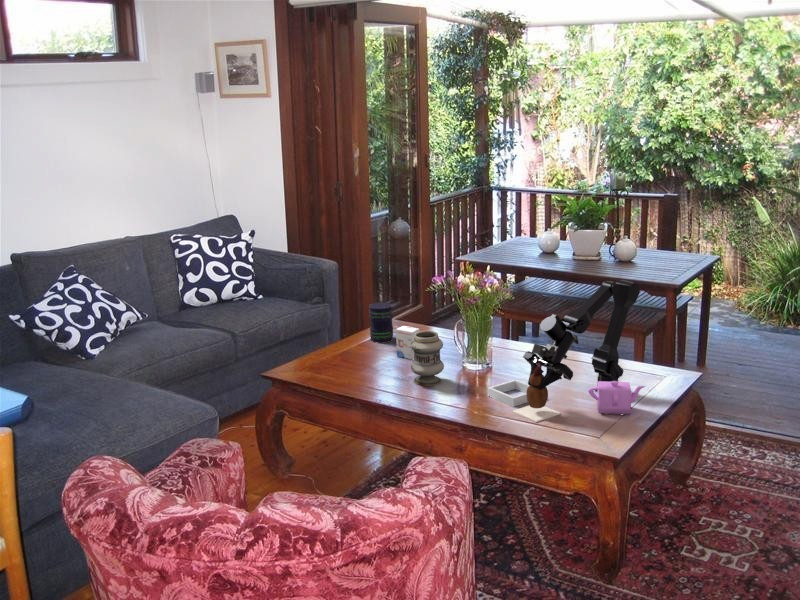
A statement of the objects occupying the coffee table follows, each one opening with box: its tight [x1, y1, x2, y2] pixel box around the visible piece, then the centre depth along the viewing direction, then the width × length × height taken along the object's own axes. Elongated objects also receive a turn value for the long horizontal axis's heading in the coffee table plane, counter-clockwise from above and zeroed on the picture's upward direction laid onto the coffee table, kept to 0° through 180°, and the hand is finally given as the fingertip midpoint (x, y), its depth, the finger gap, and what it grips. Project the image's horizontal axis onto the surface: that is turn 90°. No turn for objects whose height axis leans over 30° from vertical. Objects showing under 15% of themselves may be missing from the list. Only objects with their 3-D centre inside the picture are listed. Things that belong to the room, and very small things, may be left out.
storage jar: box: [368, 301, 394, 344], centre depth 362 cm, size 10×10×15 cm
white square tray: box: [487, 379, 530, 408], centre depth 295 cm, size 13×13×3 cm
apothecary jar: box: [410, 330, 445, 387], centre depth 310 cm, size 12×12×18 cm
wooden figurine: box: [526, 362, 549, 408], centre depth 278 cm, size 7×6×15 cm
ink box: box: [395, 325, 421, 360], centre depth 339 cm, size 9×5×12 cm, turn 55°
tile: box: [512, 405, 561, 423], centre depth 281 cm, size 11×11×1 cm
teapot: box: [587, 380, 646, 415], centre depth 279 cm, size 18×14×10 cm
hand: (533, 386), depth 278 cm, fingers closed on wooden figurine, 4 cm apart
